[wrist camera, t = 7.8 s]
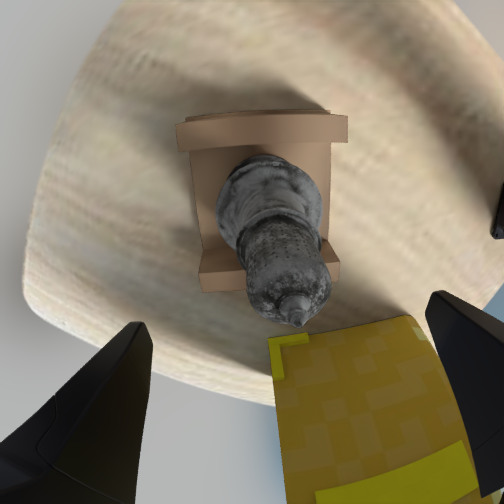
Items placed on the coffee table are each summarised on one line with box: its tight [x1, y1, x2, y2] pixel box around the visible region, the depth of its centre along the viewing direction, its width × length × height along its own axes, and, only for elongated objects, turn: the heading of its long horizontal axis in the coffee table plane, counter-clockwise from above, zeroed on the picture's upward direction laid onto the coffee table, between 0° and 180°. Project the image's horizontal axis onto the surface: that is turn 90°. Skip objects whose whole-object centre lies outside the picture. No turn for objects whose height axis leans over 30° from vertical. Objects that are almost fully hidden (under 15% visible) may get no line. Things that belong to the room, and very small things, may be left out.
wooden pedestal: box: [175, 109, 348, 293], centre depth 17 cm, size 9×11×4 cm
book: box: [268, 315, 502, 504], centre depth 17 cm, size 17×7×25 cm, turn 98°
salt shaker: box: [215, 154, 331, 328], centre depth 13 cm, size 6×6×12 cm
